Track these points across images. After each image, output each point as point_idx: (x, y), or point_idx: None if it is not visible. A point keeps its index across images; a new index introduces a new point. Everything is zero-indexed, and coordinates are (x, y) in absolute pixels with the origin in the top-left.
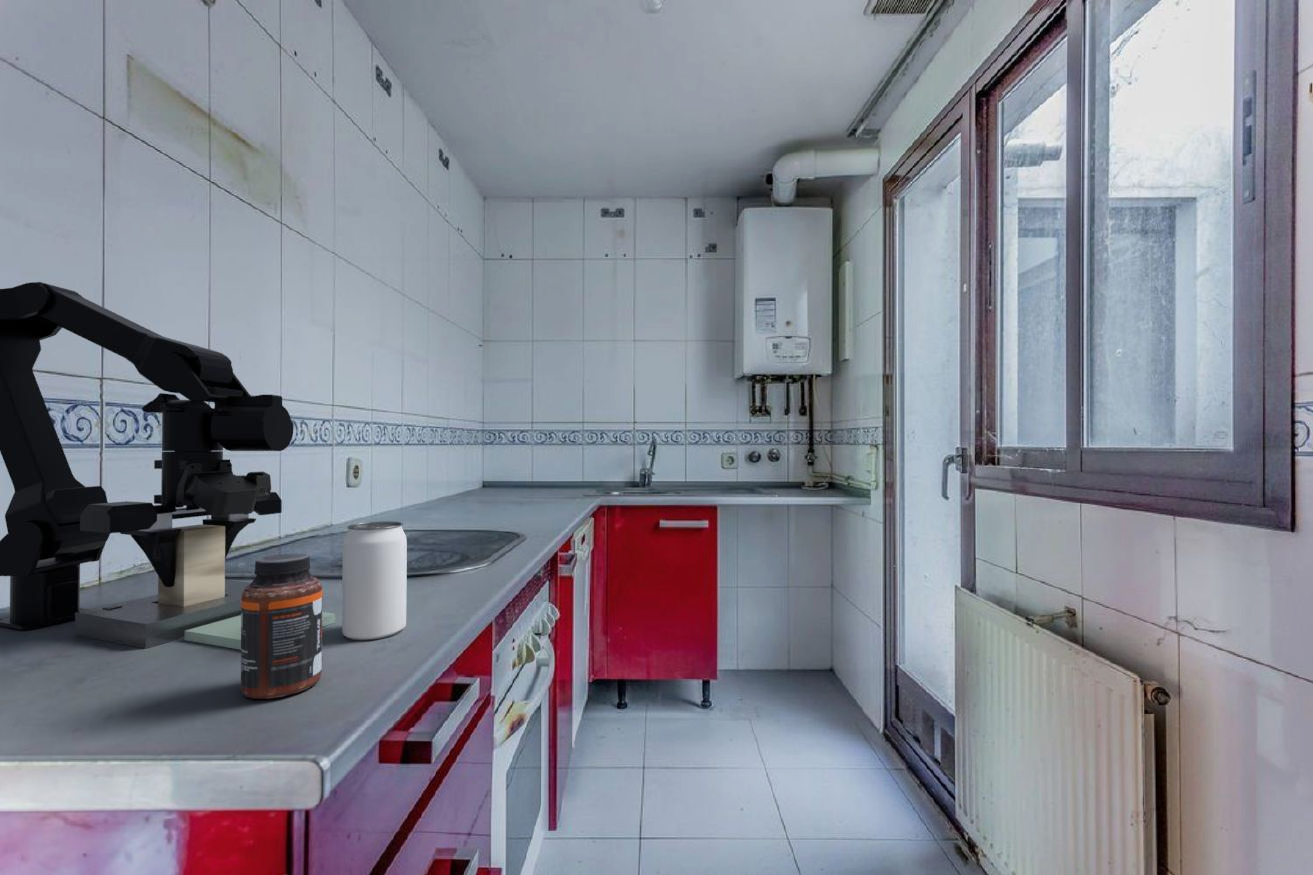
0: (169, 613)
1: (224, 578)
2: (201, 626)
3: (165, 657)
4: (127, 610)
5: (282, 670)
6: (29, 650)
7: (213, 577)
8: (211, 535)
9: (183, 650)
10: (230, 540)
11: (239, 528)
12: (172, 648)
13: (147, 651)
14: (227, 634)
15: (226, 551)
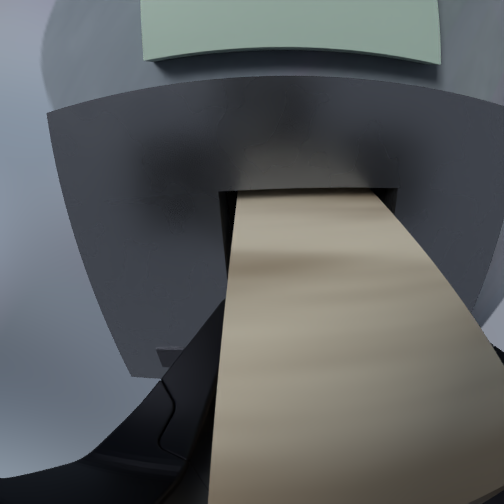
0: (453, 151)
1: (233, 240)
2: (403, 52)
3: (493, 9)
4: None
5: None
6: (493, 296)
7: (289, 246)
8: (349, 470)
9: (462, 5)
10: (147, 426)
11: (71, 481)
12: (465, 41)
13: (489, 80)
14: None
15: (180, 374)
